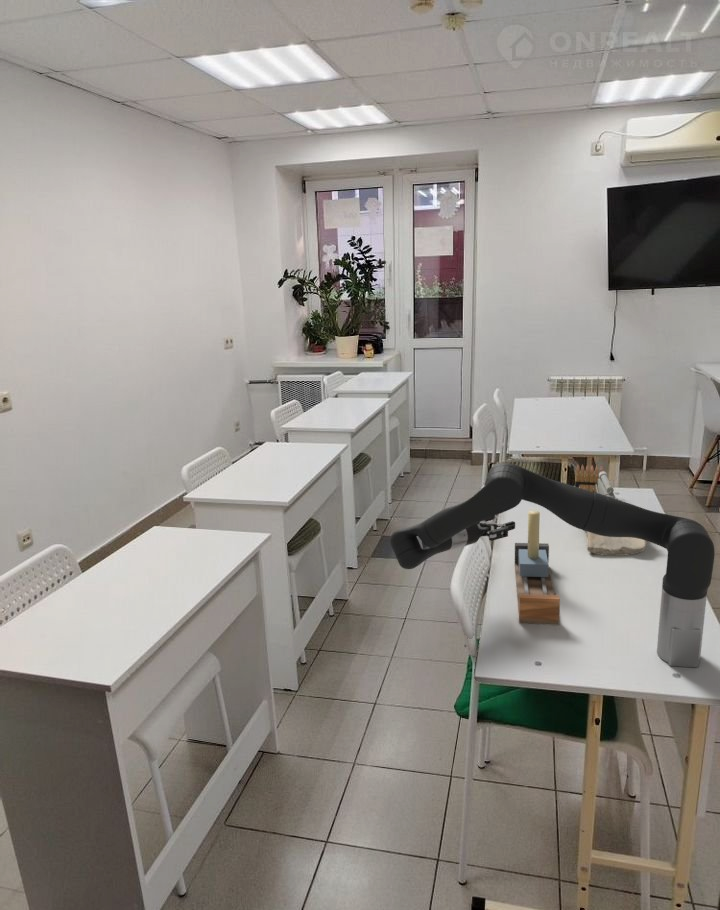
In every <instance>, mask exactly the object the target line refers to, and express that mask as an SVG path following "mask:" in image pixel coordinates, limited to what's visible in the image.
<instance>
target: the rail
mask: <svg viewBox="0 0 720 910" xmlns="http://www.w3.org/2000/svg"><path fill="white" fill-rule="evenodd" d="M519 549H528V542H514V573H515V574H514V575H515V584H516V585H515V586H516V597H517V609H518V610H517V611H518V622H519V624H530V625H531V624H532V625H533V624H534V625H553V626H554V625H555V626H557V625H558V626H559V625H560V605H561V604H560V602H561V599H560V595H558V594H555V591H554V586H553V582H552V577H551V571H550V567H549V568H548V577H526V576H520V572H519V562H518V555H519ZM539 550H546V554H547V559H548V563H549V562H550V561H549V560H550V559H549V557H550V554H549V553H550V545H549V543H541V542H539Z"/></svg>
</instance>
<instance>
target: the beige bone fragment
mask: <svg viewBox="0 0 720 910" xmlns="http://www.w3.org/2000/svg"><path fill="white" fill-rule="evenodd" d="M585 532H586V536H587V542H586V544H587V545H586V548H587V551H588V552H590V553H593V554H597V555H598V554H599V555H601V554H603V556H611V555H612V554H614V555H625V554H629V556H630V555H636V554H637V553H641V552H643V551H645V550H646V547H647V544H648V543H649V542H648V541H646V540H642V539H638V538H632V537H606V536H601V535H597V534H594V533H591V532H587V531H585ZM612 556H613V555H612Z"/></svg>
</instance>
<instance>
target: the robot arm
mask: <svg viewBox="0 0 720 910" xmlns="http://www.w3.org/2000/svg"><path fill="white" fill-rule="evenodd" d="M522 500H523V501H526V502H529V503H533V504H535V505H538V506H540V507H542V508H545V509H546V510H547V511H549V512H551V514H553V515H555V516H556V517H558V518H559V520H562V521H563V522H565V523H566V524H568V525H570V526H571V527H574V528H576V529H579V530H582V531H585V532H586V531H587V532H591V533H594V534H597V535H601V536H606V537H632V538H638V539H642V540H646V541H648V543H652V544H654V545H657V546H659V547H662V548H664V549H665V550H666V551H667V561H666V569H665V570H666V571H665V574H664V575H663V577H662V586H661V598H660V607H659V608H660V609H659V621H658V633H657V642H656V644H657V645H656V653H657V655H658V657H659V658H660V659H661V660H662V661H664V662H666V663H667V664H668V665H669V666H671V667H685V668H687V667H688V668H698V667H699V663H700V661H701V655H702V647H703V645H702V644H703V634H704V624H705V618H706V617H705V614H706V607H707V596H708V589H709V588H710V586H711V583H712V578H713V571H714V562H715V552H716V551H715V545H714V542H713V539H711V537H710V534H709V533H708V531H707V529H706V528H705V527H704V526H703V524H701V523H699V522H698V521H696V520H694V519H690V518H686V517H681V516H676V515H672V514H667V513H663V512H656V511H654V510H649V509H646V508H643V507H641V506H638V505H635V504H632V503H629V502H626V501H622V500H620V499H617V498H615V499H614V498H611V497H609V496H605V495H602V494H599V493H596V492H592V491H589V490H585V489H581V488H580V487H579V488H578V487H575V485H571V484H568V483H564V482H561V481H558V480H555V479H551V478H548V477H546V476H544V475H541V474H539V473H536V472H534V471H531V470H529V469H528V468H527V469H526V468H524V467H522V466H519V465H517V464H515V463H509V462H501V463H498V464H497V463H496V464H495V465H493V466H492V467H491V468H490V469H489V471H488V473H487V475H486V479H485V482H484V486H483V487H482V488H480V490H478V491H477V492H476V493H475V494H474V495H473V496H471V497H470V498H469V499H467V500H465V501H463V502H461V503H458V504H456V505H453V506H450V507H446V508H444V509H441V510H440V511H438V512H436V513H435V514H433V515H431V516H430V517H428V518H427V519H425V520H424V521H422V522H420V523H417V524H415V525H412V526H407V527H403V528H401V529H397V530H395V531H394V532H393V533H392V534H391V535H390V538H389V543H390V546H391V548H392V551H393V553H394V555H395V557H396V558H395V559H396V560H397V563H398V565H399V566H400V567H401V568H402V569H405V570H413V569H415V568H417V567H419V566H420V565H421V564H422V563H424V562H425V561H427V560H428V559H429V558H432V557H433V556H436V555H437V554H441V553H444V552H448V551H451V550H456V549H460V548H464V547H467V546H469V545H473V544H476V543H477V542H478V541H479V540H480V538H481V537H488V540H489V541H492V542H493V541H496V540H500V539H503V538H506V537H509V532H510V531H512V530H515V529H516V522H515V521H513V520H512V521H509V522H505V523H497V522H495V521H494V522H493V520H495V518H496V516H497V515H499V514H502V513H505V512H507V511H510V510H512V509H514V508H516V507H517V506H519V504H520V503H521V501H522ZM492 527H493V528H492ZM587 532H586V533H587ZM418 538H419V539H418ZM419 540H420V541H421V542H420V541H419ZM420 543H421V544H420ZM421 545H422V546H421Z"/></svg>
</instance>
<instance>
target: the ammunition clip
mask: <svg viewBox="0 0 720 910" xmlns="http://www.w3.org/2000/svg"><path fill="white" fill-rule="evenodd" d="M602 471H604V468H603V465H601V466H600V468H599V467H598V465H596V466H595V469H594V465H593V464H592V465H591V466H590V468H589V465H588V464H587V465H586V467H584V464H581V468H580V465H579V464H577V465H576V469H575V476H574V478H575V479H574V486H575V487H578V488H581V489H585V490H589V491H592V492H596V493H597V490H596V484H597V487H598V479H600V478H599V473H600V472H602Z"/></svg>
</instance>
